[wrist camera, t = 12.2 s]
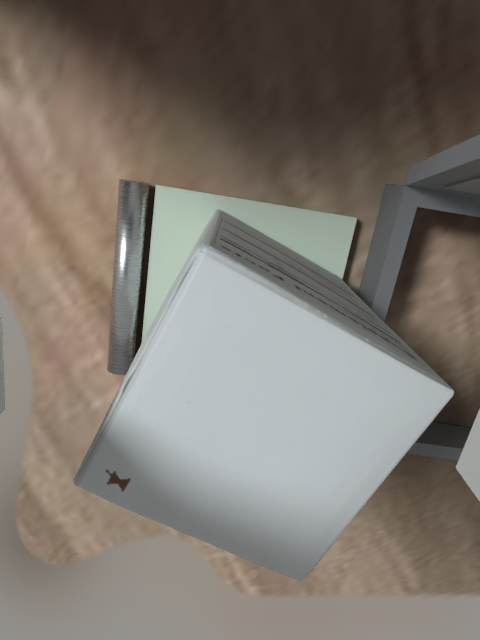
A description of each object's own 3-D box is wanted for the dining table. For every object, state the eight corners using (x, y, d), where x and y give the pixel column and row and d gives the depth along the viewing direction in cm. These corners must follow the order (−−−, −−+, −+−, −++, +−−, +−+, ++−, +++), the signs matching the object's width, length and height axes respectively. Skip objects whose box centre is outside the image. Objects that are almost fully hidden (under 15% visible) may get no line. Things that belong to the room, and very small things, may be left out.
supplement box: (269, 386, 24) (300, 594, 12) (151, 324, 23) (57, 489, 11) (343, 275, 22) (468, 396, 10) (218, 201, 21) (193, 238, 9)
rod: (111, 361, 24) (104, 372, 23) (123, 179, 21) (115, 179, 20) (136, 365, 24) (130, 376, 23) (152, 183, 21) (146, 184, 20)
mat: (141, 366, 24) (139, 370, 24) (158, 184, 21) (155, 184, 21) (312, 390, 25) (314, 395, 24) (354, 216, 22) (357, 218, 21)
